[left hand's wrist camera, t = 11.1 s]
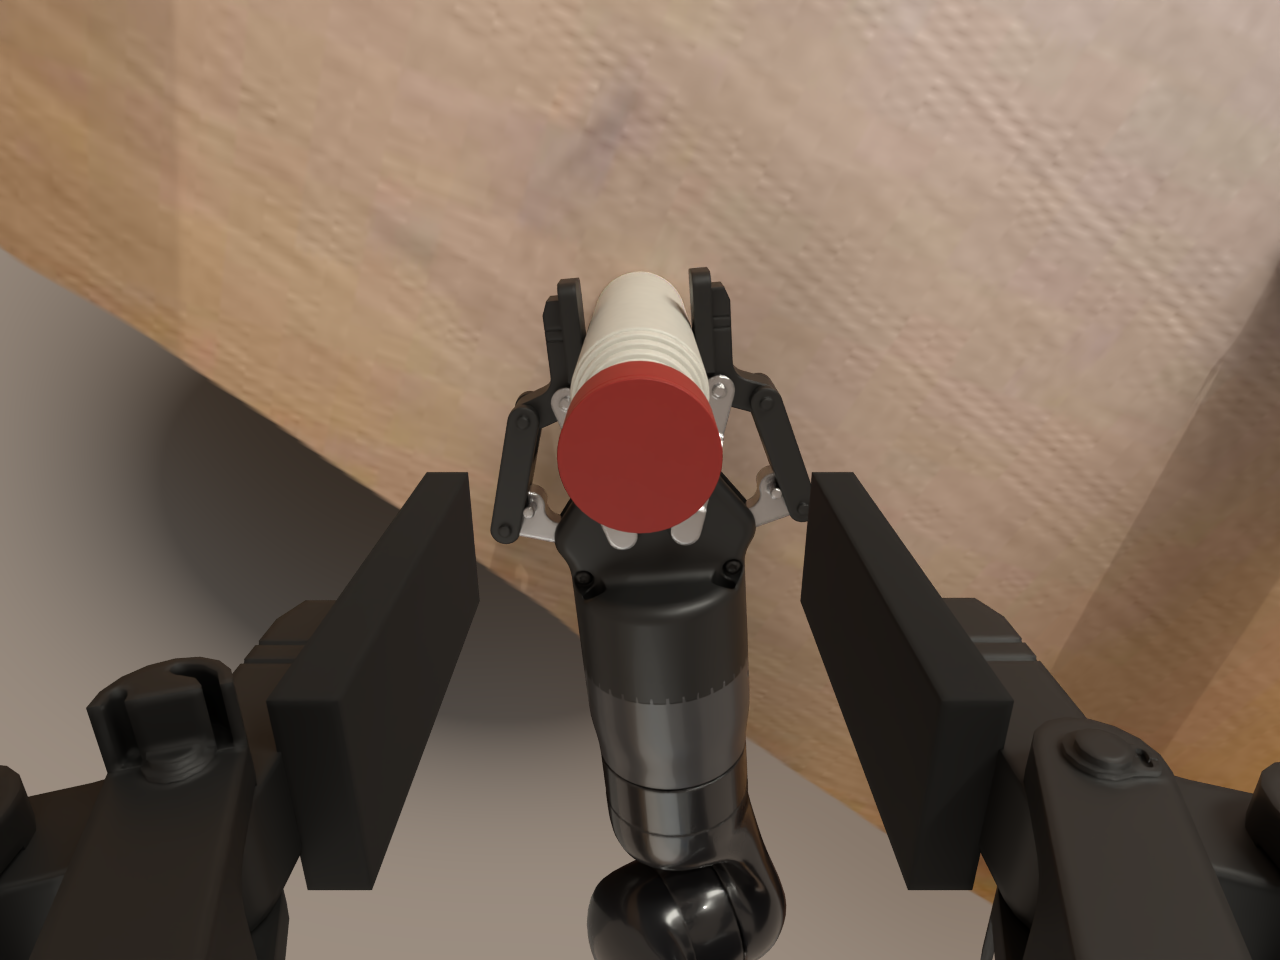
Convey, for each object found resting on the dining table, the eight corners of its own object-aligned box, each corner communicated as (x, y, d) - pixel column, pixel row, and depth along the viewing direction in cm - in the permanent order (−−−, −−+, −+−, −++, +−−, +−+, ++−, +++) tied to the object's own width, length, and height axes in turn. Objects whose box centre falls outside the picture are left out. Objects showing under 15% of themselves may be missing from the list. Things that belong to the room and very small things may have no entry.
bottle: (696, 285, 36) (750, 395, 18) (670, 372, 37) (697, 549, 20) (607, 259, 35) (575, 347, 18) (584, 349, 37) (535, 508, 19)
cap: (736, 383, 20) (744, 403, 18) (690, 519, 21) (694, 550, 19) (584, 341, 19) (579, 358, 18) (548, 483, 21) (540, 511, 19)
